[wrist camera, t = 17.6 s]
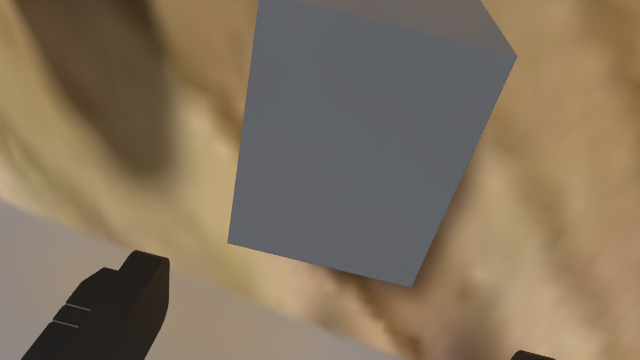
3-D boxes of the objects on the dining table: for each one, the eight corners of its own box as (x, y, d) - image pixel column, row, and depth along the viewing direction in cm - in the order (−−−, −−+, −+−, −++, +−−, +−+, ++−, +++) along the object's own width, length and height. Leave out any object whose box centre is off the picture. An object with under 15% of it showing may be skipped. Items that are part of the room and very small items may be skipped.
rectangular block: (470, -15, 20) (517, 56, 12) (405, 162, 24) (410, 287, 17) (309, -56, 19) (260, -8, 12) (276, 130, 24) (227, 242, 17)
